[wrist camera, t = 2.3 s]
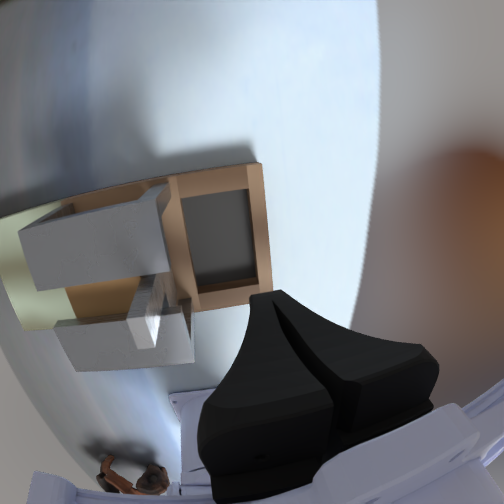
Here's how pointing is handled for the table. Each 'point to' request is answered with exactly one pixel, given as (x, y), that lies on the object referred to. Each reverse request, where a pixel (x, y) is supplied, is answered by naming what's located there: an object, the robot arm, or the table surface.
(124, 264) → the tunnel
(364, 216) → the table surface
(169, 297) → the paddle
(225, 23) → the table surface
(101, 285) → the block
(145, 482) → the brown headphones
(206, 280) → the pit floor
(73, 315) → the board
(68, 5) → the table surface
